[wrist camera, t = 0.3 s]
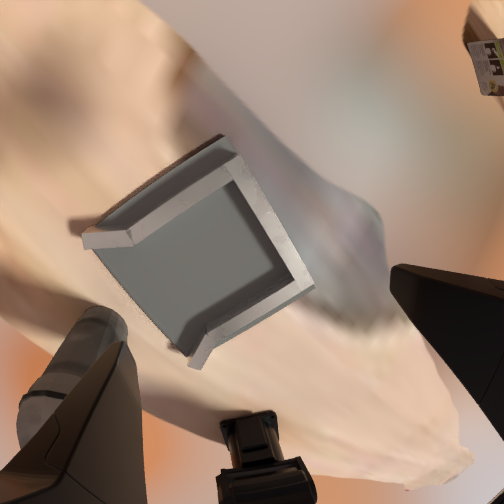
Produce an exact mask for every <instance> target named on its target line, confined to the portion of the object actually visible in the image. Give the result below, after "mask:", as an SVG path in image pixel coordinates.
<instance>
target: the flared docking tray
mask: <svg viewBox="0 0 504 504" xmlns="http://www.w3.org/2000/svg"><path fill="white" fill-rule="evenodd" d="M232 180H234V182H235V184H236V185H237V187H238V188H239V190H240V192H241V193H242V195H243V197H244V198H245V200H246V201H247V203H248V205H249V206H250V208H251V210H252V211H253V213H254V214H255V216H256V218H257V219H258V221H259V223H260V224H261V226H262V227H263V229H264V231H265V232H266V234H267V236H268V237H269V239H270V241H271V242H272V244H273V246H274V247H275V249H276V250H277V252H278V254H279V255H280V257H281V259H282V260H283V262H284V264H285V265H286V267H287V269H288V270H289V273H287V274H286V275H284V276H283V277H281V278H279V279H278V280H276V281H275V282H273V283H271V284H270V285H268V286H266V287H265V288H263V289H262V290H260V291H258V292H257V293H255V294H253V295H252V296H250V297H249V298H247V299H245V300H244V301H242V302H240V303H239V304H237V305H235V306H234V307H232V308H230V309H229V310H227V311H225V312H224V313H222V314H220V315H219V316H217V317H215V318H214V319H212V320H210V321H208V322H207V323H206V324H204V326H203V327H202V329H201V331H200V333H199V335H198V337H197V339H196V341H195V342H194V344H193V346H192V348H191V350H190V352H189V354H188V355H187V359H188V367H191V368H194V369H197V370H201V369H202V367H203V365H204V364H205V362H206V360H207V358H208V357H209V355H210V353H211V352H212V350H213V348H214V346H215V345H216V343H217V342H218V341H219V340H221V339H223V338H225V337H226V336H228V335H230V334H232V333H233V332H235V331H237V330H239V329H240V328H242V327H244V326H245V325H247V324H249V323H251V322H252V321H254V320H256V319H257V318H259V317H261V316H262V315H264V314H266V313H267V312H269V311H271V310H272V309H274V308H276V307H277V306H279V305H280V304H282V303H284V302H285V301H287V300H289V299H290V298H292V297H293V296H295V295H297V294H298V293H300V292H301V291H303V290H305V289H306V288H308V287H309V286H311V285H312V284H314V281H313V279H312V278H311V276H310V274H309V272H308V270H307V269H306V267H305V265H304V263H303V261H302V260H301V258H300V256H299V254H298V253H297V251H296V249H295V247H294V246H293V244H292V242H291V240H290V238H289V237H288V235H287V233H286V232H285V230H284V228H283V226H282V225H281V223H280V221H279V219H278V218H277V216H276V214H275V212H274V211H273V209H272V207H271V206H270V204H269V202H268V201H267V199H266V197H265V195H264V194H263V192H262V190H261V189H260V187H259V185H258V184H257V182H256V180H255V179H254V177H253V175H252V174H251V172H250V170H249V169H248V167H247V165H246V164H245V162H244V160H243V159H242V157H241V156H240V155H239V154H235V155H234V156H232V157H230V158H229V159H227V160H225V161H224V162H222V163H221V164H219V165H217V166H216V167H214V168H213V169H211V170H209V171H208V172H206V173H205V174H203V175H202V176H200V177H199V178H197V179H195V180H194V181H192V182H191V183H189V184H188V185H186V186H185V187H183V188H182V189H180V190H179V191H177V192H176V193H174V194H173V195H171V196H170V197H168V198H167V199H166V200H164V201H163V202H161V203H160V204H158V205H157V206H155V207H154V208H153V209H151V210H150V211H148V212H147V213H146V214H144V215H143V216H141V217H140V218H139V219H137V220H136V221H134V222H133V223H132V224H126V225H113V226H100V227H95V226H89V227H88V228H87V229H86V230H85V231H84V232H83V233H82V240H83V246H84V250H86V249H101V248H116V247H132V246H134V244H135V245H136V244H137V243H139V242H140V241H142V240H143V239H144V238H146V237H147V236H149V235H150V234H152V233H153V232H154V231H156V230H157V229H159V228H160V227H162V226H163V225H165V224H166V223H168V222H169V221H170V220H172V219H173V218H175V217H176V216H178V215H179V214H181V213H182V212H184V211H185V210H187V209H188V208H190V207H191V206H193V205H194V204H196V203H198V202H199V201H201V200H202V199H204V198H205V197H207V196H208V195H210V194H211V193H213V192H215V191H216V190H218V189H219V188H221V187H222V186H224V185H226V184H227V183H229V182H230V181H232Z"/></svg>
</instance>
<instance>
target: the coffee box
mask: <svg viewBox="0 0 504 504" xmlns="http://www.w3.org/2000/svg"><path fill="white" fill-rule="evenodd" d="M467 46H468V49H469V52H470V55H471V58H472V61H473V65H474V68H475V72H476V75H477V79H478V83H479V87H480V91H481V94H482V95H488V96H504V38H502V39H493V40H485V41H477V42H470V43H467Z"/></svg>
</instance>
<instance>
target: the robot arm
mask: <svg viewBox="0 0 504 504" xmlns="http://www.w3.org/2000/svg"><path fill="white" fill-rule="evenodd" d="M390 291H391V294H392V295H393V297H394V298H395V299H396V301H397V302H398V303H399V305H400V306H401V308H402V309H403V311H404V312H405V313H406V315H407V316H408V318H409V319H410V320H411V322H412V323H413V324H414V326H415V327H416V328H417V329H418V330H419V332H420V333H421V334H422V335H423V336H424V337H425V339H426V340H427V341H428V342H429V343H430V345H431V346H432V347H433V348H434V349H435V351H436V352H437V353H438V354H439V356H440V357H441V358H442V359H443V360H444V362H445V363H446V364H447V365H448V367H449V368H450V369H451V370H452V371H453V373H454V374H455V375H456V377H457V378H458V379H459V380H460V382H461V383H462V384H463V386H464V387H465V388H466V390H467V391H468V392H469V394H470V395H471V396H472V397H473V399H474V400H475V401H476V403H477V404H478V405H479V407H480V408H481V410H482V411H483V412H484V414H485V415H486V417H487V418H488V420H489V421H490V422H491V424H492V425H493V426H494V428H495V429H496V431H497V432H498V433H499V435H500V437H501V438H502V439H503V441H504V281H502V280H495V279H489V278H484V277H479V276H473V275H467V274H461V273H456V272H450V271H444V270H438V269H432V268H426V267H421V266H415V265H409V264H398V265H395V266H393V267H392V268H391V275H390ZM220 428H221V431H222V434H223V437H224V440H225V443H226V445H227V448H228V450H229V451H230V455H231V460H232V466H233V468H232V469H221V474H220V475H218V476H216V483H217V490H218V502H219V504H316V502H317V492H316V488H315V484H314V481H313V479H312V477H311V475H310V473H309V472H308V470H307V468H306V466H305V464H304V462H303V461H302V459H301V457H300V456H298V457H295V458H293V459H288V460H284V457H283V454H282V451H281V447H280V444H279V433H278V423H277V415H276V413H275V412H269V413H264V414H260V415H255V416H250V417H245V418H239V419H234V420H228V421H223V422H220ZM0 504H147V495H146V484H145V472H144V458H143V437H142V408H141V400H140V392H139V384H138V375H137V367H136V363H135V360H134V358H133V356H132V354H131V352H130V350H129V347H128V345H127V343H126V342H125V341H117V342H113V343H111V344H110V345H109V347H108V348H107V349H106V350H105V351H104V352H103V354H102V355H101V356H100V357H99V358H98V359H97V361H96V362H95V363H94V364H93V365H92V366H91V368H90V369H89V370H88V371H87V372H86V373H85V375H84V376H83V377H82V378H81V379H80V381H79V382H78V383H77V384H76V385H75V387H74V388H73V389H72V390H71V391H70V393H69V394H68V395H67V396H66V397H65V399H64V400H63V401H62V402H61V403H60V405H59V406H58V407H57V408H56V410H55V411H54V413H52V414H51V416H50V417H49V418H48V419H47V421H46V422H45V423H44V424H43V425H42V427H41V428H40V429H39V430H38V431H37V433H36V434H35V435H34V436H33V437H32V438H31V439H30V440H29V441H28V443H27V444H26V445H25V446H24V447H23V448H22V449H21V450H20V451H19V452H18V453H17V454H16V455H15V456H14V458H13V459H12V460H11V461H10V462H9V463H8V464H7V465H6V466H5V467H4V468H3V469H2V470H1V471H0ZM488 504H504V489H502V490H501V491H500V492H499V493H498V494H497V495H496V496H495V497H494V498H493V499H492V500H491V501H490V502H489V503H488Z"/></svg>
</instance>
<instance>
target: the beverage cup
mask: <svg viewBox="0 0 504 504" xmlns="http://www.w3.org/2000/svg"><path fill="white" fill-rule="evenodd" d="M127 335H128V329H127V325H126V323H125V321H124V319H123V318H122V317H121V316H120V315H119V314H118V313H116V312H115V311H114V310H112V309H109V308H107V307H100V306H96V307H91V308H89V309H88V310H86V311H85V312H84V314H83V315H82V316H81V318H80V319H78V321H77V322H76V324H75V325H74V327H73V328H72V330H71V331H70V332H69V334H68V335H67V337H66V338H65V340H64V341H63V343H62V344H61V346H60V348H59V349H58V351H57V352H56V354H55V355H54V357H53V358H52V360H51V362H50V363H49V365H48V366H47V368H46V370H45V371H44V373H43V375H42V376H41V377H40V378H38V379H37V380H36V381H35V383H34V384H33V385H32V386H31V388H30V389H29V391H28V393H27V394H25V395H23V397H22V399H21V401H20V403H19V412H18V416H17V423H16V426H17V435H18V440H19V444H20V448H21V449H22V448H23V447H24V446H25V445H26V444H27V443H28V441H29V440H30V439H31V438H32V437H33V436H34V435H35V434H36V433H37V431H38V430H39V429H40V428H41V427H42V425H43V424H44V423H45V422H46V421H47V419H48V418H49V417H50V416H51V414H52V413H54V411H55V410H56V408H57V407H58V406H59V405H60V403H61V402H62V401H63V400H64V399H65V397H66V396H67V395H68V394H69V393H70V391H71V390H72V389H73V388H74V387H75V385H76V384H77V383H78V382H79V381H80V379H81V378H82V377H83V376H84V375H85V373H86V372H87V371H88V370H89V369H90V368H91V366H92V365H93V364H94V363H95V362H96V361H97V359H98V358H99V357H100V356H101V355H102V354H103V352H104V351H105V350H106V349H107V348H108V347H109V345H110V344H111V343H113V342H117V341H125V342H126V343H127Z"/></svg>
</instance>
